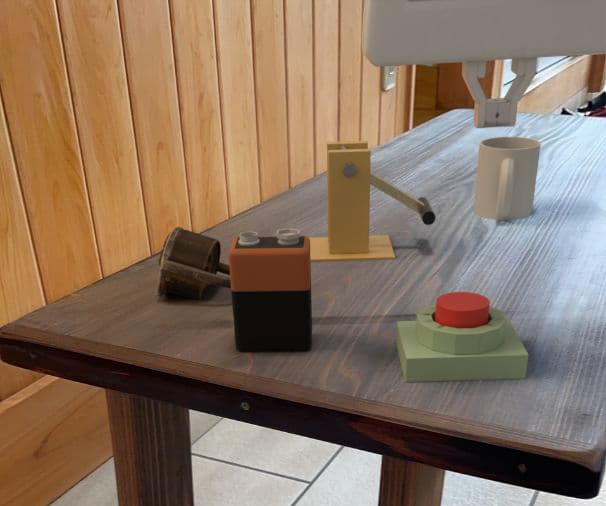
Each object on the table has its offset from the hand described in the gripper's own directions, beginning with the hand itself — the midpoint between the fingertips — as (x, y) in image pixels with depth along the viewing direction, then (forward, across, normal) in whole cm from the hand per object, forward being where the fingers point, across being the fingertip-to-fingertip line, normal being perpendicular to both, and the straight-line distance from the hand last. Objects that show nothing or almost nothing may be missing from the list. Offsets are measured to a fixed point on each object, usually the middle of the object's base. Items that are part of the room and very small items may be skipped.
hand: (494, 126), depth 65 cm
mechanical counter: (+18, -24, +13) cm, 33 cm away
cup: (+19, +10, +38) cm, 44 cm away
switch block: (+18, -2, -3) cm, 18 cm away
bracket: (+18, -10, +26) cm, 33 cm away
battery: (+18, -18, +2) cm, 26 cm away
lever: (+11, -6, +26) cm, 29 cm away
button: (+14, -2, -3) cm, 15 cm away
